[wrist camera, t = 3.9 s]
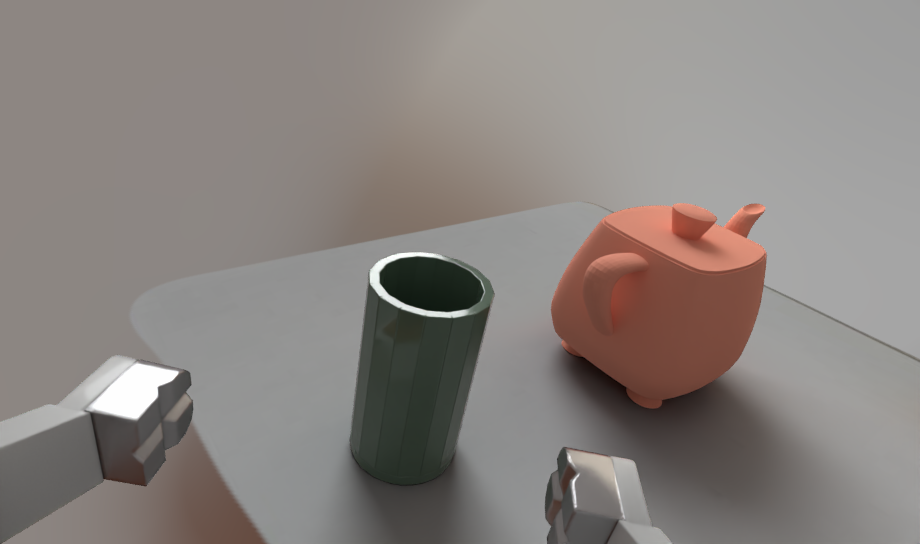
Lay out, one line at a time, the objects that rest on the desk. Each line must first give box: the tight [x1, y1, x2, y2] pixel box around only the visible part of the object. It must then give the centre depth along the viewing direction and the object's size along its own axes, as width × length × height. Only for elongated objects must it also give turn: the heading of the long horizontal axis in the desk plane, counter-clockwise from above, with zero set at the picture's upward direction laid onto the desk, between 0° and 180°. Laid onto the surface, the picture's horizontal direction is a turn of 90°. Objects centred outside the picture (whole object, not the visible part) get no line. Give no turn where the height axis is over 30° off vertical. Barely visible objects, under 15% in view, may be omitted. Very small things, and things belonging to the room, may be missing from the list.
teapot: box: [551, 203, 766, 409], centre depth 37 cm, size 20×12×12 cm, turn 129°
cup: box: [350, 252, 494, 485], centre depth 26 cm, size 6×6×10 cm
